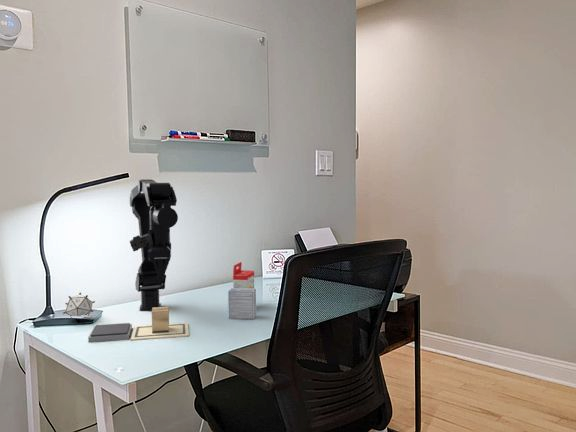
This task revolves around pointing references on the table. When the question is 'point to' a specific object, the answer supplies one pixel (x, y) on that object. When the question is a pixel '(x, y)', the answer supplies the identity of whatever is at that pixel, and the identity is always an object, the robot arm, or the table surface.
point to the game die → (79, 305)
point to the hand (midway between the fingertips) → (160, 277)
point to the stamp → (160, 319)
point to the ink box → (242, 277)
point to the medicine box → (242, 303)
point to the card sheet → (146, 333)
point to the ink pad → (110, 332)
